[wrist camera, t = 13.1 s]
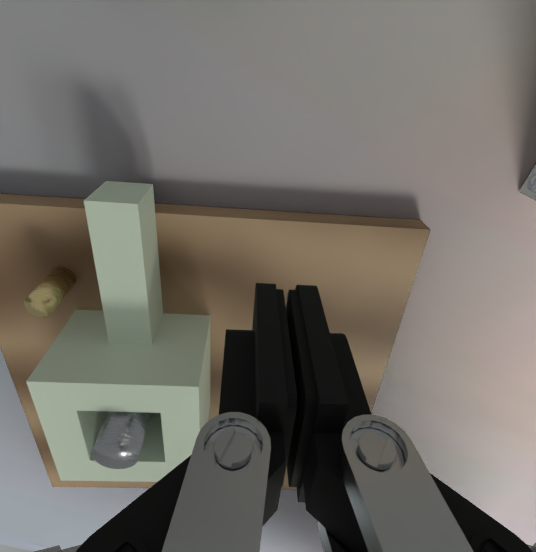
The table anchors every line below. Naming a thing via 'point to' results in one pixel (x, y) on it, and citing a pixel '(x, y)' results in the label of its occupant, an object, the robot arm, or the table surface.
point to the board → (210, 281)
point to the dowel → (50, 292)
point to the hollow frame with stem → (124, 352)
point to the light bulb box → (530, 185)
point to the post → (121, 439)
